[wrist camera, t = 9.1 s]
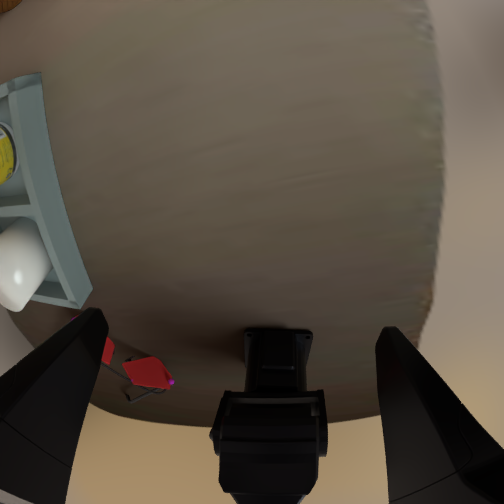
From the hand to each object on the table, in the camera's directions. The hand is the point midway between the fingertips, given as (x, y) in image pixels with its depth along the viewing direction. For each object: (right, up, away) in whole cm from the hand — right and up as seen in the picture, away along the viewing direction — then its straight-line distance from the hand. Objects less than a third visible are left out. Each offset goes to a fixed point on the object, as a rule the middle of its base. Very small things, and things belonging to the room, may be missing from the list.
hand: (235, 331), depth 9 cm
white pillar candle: (-21, +3, +15) cm, 26 cm away
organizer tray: (-21, +8, +13) cm, 26 cm away
